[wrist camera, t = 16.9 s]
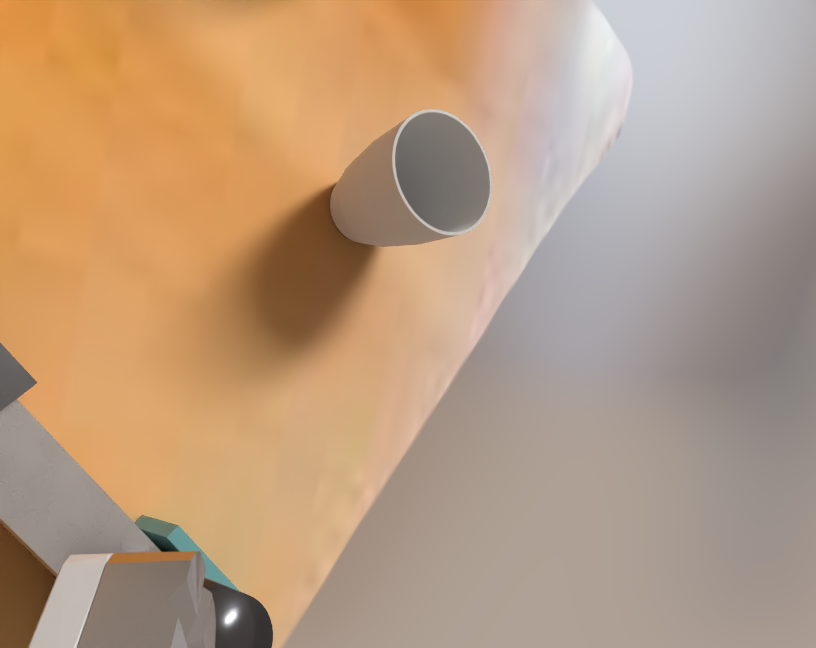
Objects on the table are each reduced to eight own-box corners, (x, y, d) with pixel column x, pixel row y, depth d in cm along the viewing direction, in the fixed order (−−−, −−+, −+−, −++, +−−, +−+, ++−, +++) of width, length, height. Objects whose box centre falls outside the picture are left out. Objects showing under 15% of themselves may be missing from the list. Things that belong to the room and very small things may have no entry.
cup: (419, 214, 58) (509, 179, 50) (366, 286, 54) (454, 261, 46) (351, 134, 55) (435, 83, 47) (289, 205, 51) (369, 163, 43)
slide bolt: (-86, 441, 36) (-58, 445, 25) (-12, 385, 38) (44, 366, 27) (144, 665, 41) (253, 751, 30) (198, 604, 43) (318, 664, 32)
